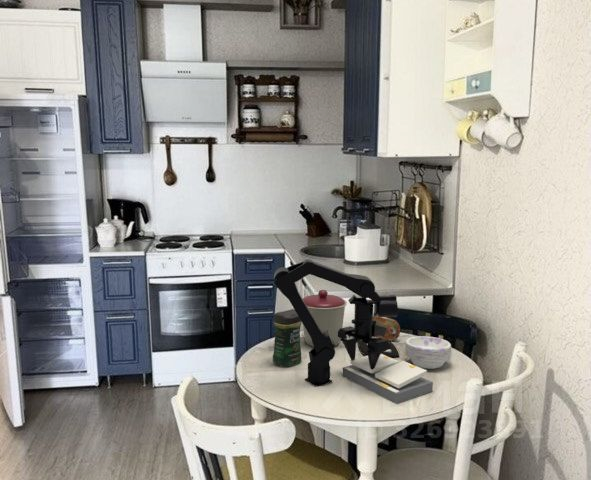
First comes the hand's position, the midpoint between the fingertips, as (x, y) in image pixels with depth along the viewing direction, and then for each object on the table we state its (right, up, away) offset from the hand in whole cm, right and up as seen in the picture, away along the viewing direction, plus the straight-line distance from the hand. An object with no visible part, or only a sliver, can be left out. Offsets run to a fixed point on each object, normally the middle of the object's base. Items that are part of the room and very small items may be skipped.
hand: (362, 365), depth 174 cm
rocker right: (+11, -1, -6) cm, 13 cm away
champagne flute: (-25, -1, +31) cm, 40 cm away
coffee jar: (-24, -3, +16) cm, 29 cm away
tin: (+14, +1, +43) cm, 45 cm away
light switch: (+9, -2, +30) cm, 32 cm away
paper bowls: (+24, -3, +15) cm, 29 cm away
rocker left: (+4, 0, +3) cm, 5 cm away
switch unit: (+7, -6, -1) cm, 9 cm away
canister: (-11, 0, +36) cm, 38 cm away
